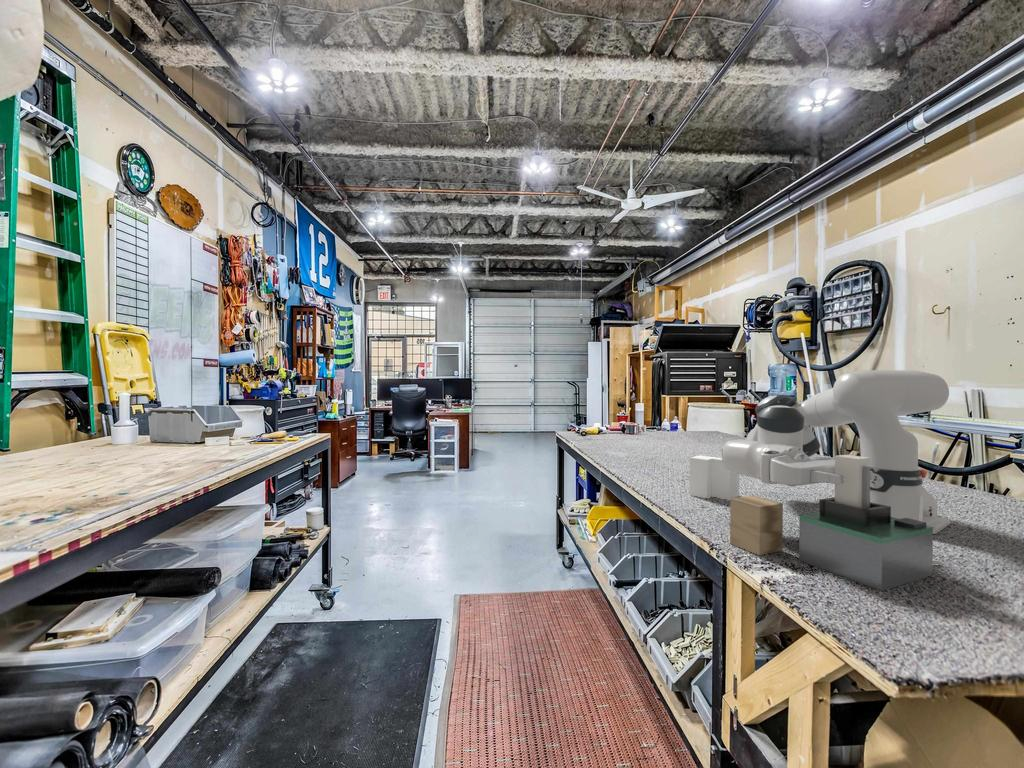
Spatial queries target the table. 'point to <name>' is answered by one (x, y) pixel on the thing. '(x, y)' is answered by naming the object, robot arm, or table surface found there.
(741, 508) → the parts stand
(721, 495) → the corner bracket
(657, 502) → the table surface
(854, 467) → the keyed plug
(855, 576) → the green-topped socket block
